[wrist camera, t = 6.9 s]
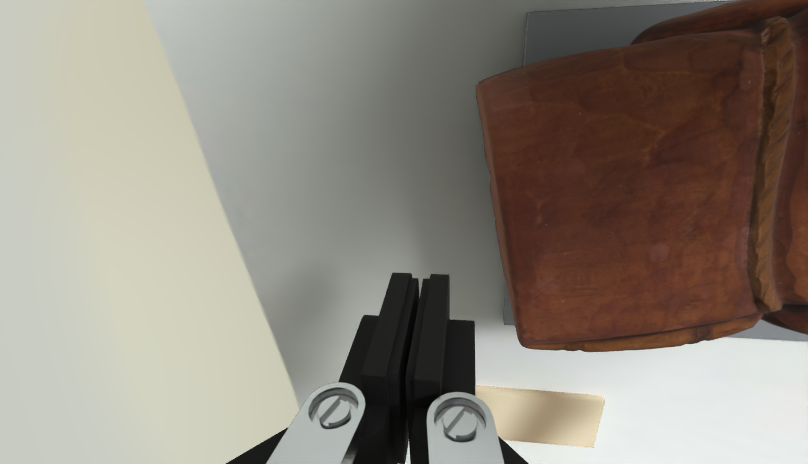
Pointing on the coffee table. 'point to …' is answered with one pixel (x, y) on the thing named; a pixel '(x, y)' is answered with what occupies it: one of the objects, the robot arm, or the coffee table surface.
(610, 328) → the wooden figurine
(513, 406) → the turner
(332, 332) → the coffee table surface
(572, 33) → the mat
